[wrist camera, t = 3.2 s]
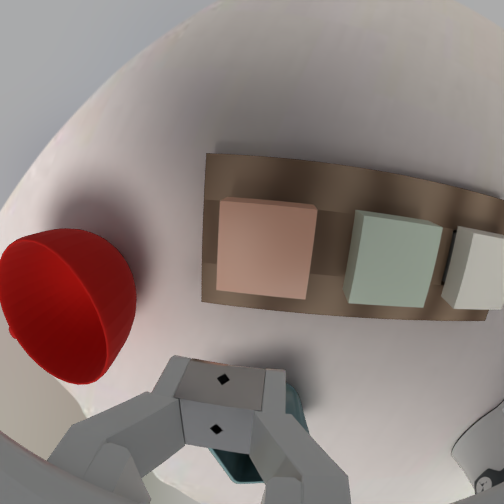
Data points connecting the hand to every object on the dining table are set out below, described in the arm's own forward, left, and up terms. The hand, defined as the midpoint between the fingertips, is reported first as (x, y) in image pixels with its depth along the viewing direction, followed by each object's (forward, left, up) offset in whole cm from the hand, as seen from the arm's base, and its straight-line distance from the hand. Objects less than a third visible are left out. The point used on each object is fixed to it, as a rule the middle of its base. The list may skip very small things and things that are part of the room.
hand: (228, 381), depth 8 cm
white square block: (-18, 0, -17) cm, 25 cm away
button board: (-9, 0, -18) cm, 20 cm away
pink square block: (0, 0, -17) cm, 17 cm away
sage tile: (-9, 0, -17) cm, 19 cm away
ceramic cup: (+18, +7, -18) cm, 27 cm away
